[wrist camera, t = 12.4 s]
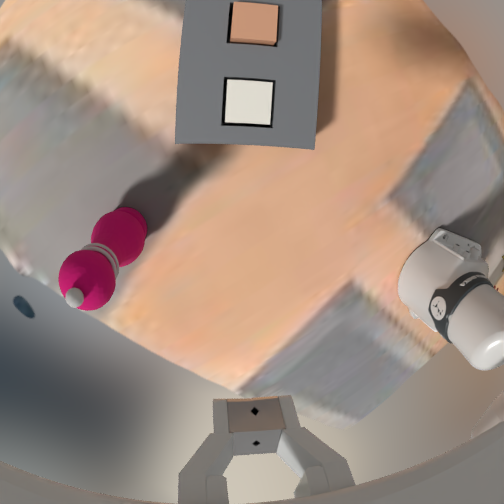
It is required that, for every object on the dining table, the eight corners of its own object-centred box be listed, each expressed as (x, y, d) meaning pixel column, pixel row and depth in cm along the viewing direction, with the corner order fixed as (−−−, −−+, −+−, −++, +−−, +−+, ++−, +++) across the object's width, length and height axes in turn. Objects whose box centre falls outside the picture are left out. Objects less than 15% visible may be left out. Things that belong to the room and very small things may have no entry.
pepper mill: (139, 196, 39) (83, 254, 21) (158, 242, 42) (122, 327, 24) (96, 213, 39) (25, 277, 21) (115, 256, 42) (63, 341, 24)
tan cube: (270, 19, 30) (278, 5, 25) (268, 51, 32) (276, 41, 27) (231, 16, 29) (233, 1, 24) (228, 48, 31) (230, 37, 26)
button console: (308, 15, 31) (321, 0, 26) (300, 146, 39) (314, 149, 33) (191, 5, 29) (187, -12, 24) (181, 141, 37) (175, 143, 31)
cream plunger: (265, 88, 34) (272, 82, 30) (263, 125, 36) (270, 124, 32) (226, 85, 34) (227, 79, 29) (223, 123, 35) (225, 122, 31)
